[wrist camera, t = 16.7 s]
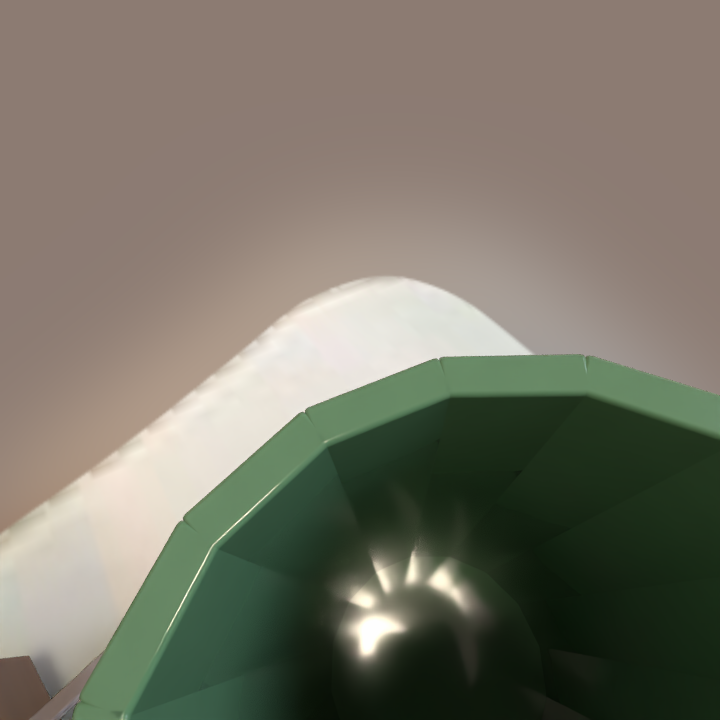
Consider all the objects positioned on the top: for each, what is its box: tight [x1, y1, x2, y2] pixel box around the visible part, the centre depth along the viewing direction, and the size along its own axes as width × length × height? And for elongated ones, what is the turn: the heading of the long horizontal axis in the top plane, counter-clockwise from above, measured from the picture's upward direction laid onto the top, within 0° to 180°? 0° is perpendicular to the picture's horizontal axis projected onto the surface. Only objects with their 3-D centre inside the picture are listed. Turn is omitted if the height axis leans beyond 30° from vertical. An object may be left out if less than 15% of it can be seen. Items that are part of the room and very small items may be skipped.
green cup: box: [71, 354, 720, 720], centre depth 8 cm, size 6×6×12 cm
